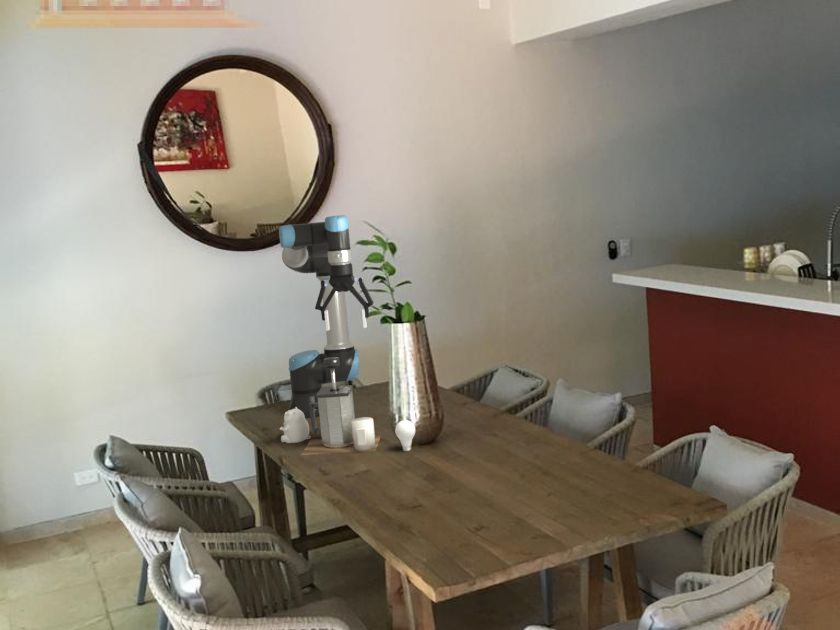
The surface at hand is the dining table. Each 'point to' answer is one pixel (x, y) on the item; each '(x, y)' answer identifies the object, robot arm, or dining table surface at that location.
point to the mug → (363, 433)
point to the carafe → (334, 416)
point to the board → (318, 448)
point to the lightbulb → (405, 433)
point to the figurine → (295, 427)
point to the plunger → (332, 368)
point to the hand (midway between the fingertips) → (346, 328)
